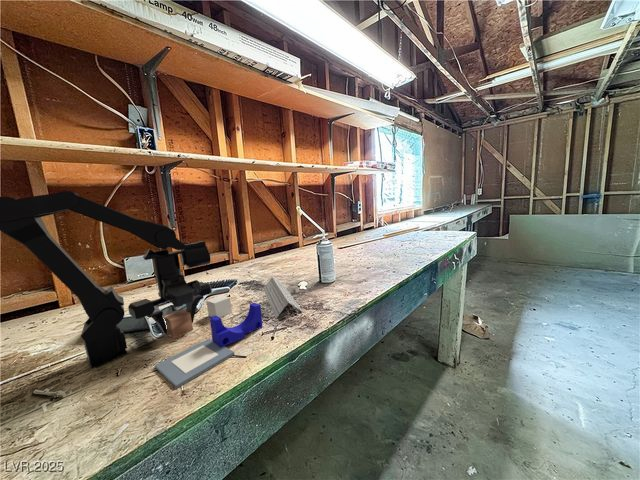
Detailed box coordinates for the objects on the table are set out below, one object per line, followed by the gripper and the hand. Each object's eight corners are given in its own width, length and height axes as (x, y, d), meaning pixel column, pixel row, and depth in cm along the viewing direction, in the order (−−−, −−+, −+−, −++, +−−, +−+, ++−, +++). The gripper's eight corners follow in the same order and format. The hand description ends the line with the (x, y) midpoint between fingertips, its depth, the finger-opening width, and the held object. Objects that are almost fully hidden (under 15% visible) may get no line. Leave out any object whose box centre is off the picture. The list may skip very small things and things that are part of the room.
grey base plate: (176, 388, 46) (176, 385, 46) (155, 367, 53) (154, 364, 53) (234, 354, 55) (234, 351, 55) (209, 340, 62) (209, 337, 62)
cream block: (217, 319, 74) (214, 303, 73) (208, 315, 77) (206, 300, 77) (232, 312, 78) (229, 297, 77) (223, 309, 81) (221, 294, 80)
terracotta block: (173, 338, 65) (170, 320, 64) (166, 333, 68) (162, 316, 67) (193, 330, 69) (190, 313, 68) (185, 325, 72) (182, 309, 71)
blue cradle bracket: (220, 347, 57) (217, 322, 57) (212, 341, 60) (209, 317, 60) (265, 328, 66) (263, 306, 65) (256, 323, 69) (254, 302, 68)
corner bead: (262, 290, 98) (260, 278, 97) (284, 285, 101) (283, 273, 100) (274, 321, 71) (272, 304, 70) (305, 313, 74) (303, 297, 73)
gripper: (136, 288, 54) (150, 355, 56) (217, 266, 68) (226, 320, 70) (121, 281, 61) (134, 341, 63) (198, 263, 75) (206, 312, 77)
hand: (179, 328), depth 68 cm, fingers open, 6 cm apart
